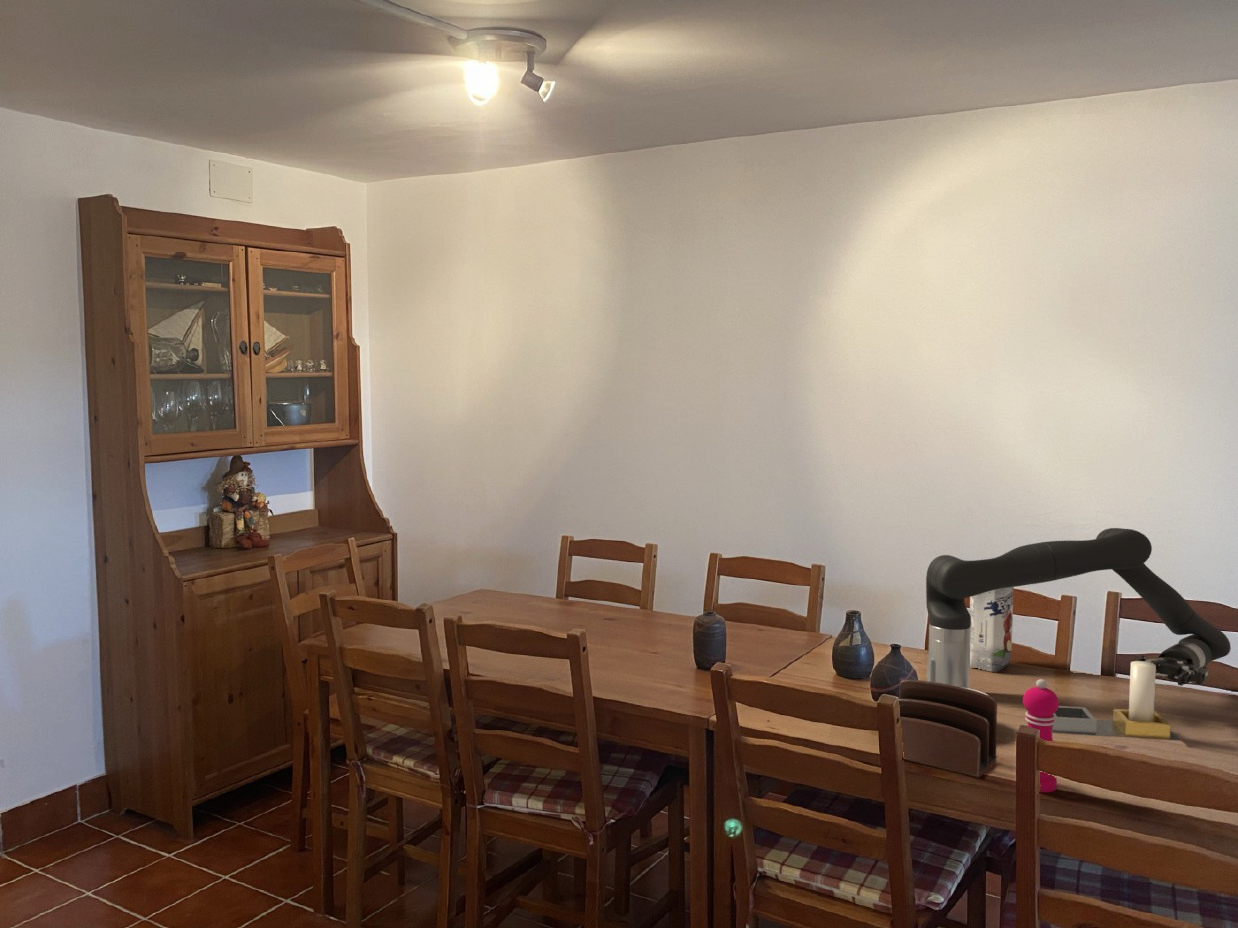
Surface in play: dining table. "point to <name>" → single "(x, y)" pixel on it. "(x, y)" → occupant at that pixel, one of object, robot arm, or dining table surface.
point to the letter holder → (948, 727)
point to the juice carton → (991, 629)
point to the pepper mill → (1042, 721)
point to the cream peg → (1142, 691)
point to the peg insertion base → (1109, 724)
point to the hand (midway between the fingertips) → (1157, 676)
